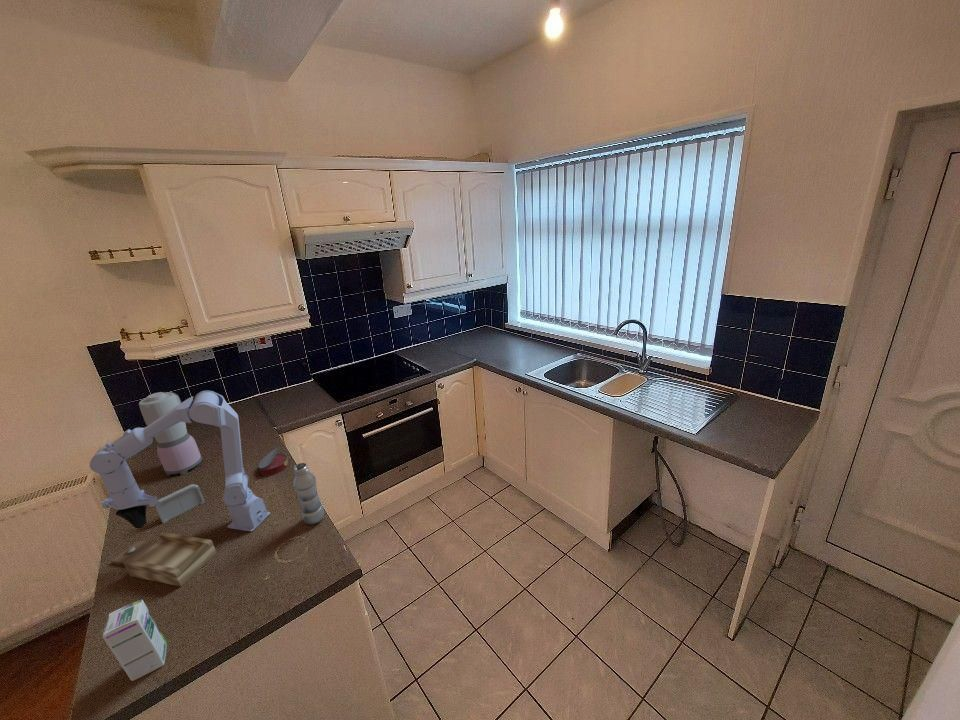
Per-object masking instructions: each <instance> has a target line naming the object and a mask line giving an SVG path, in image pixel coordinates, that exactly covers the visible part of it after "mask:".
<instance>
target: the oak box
mask: <svg viewBox="0 0 960 720" xmlns="http://www.w3.org/2000/svg"><path fill="white" fill-rule="evenodd" d="M158 536H159V538H160V540H159V541H158V542H157V544H155V545H154V546H153V547H152V548H150V549H149V550H148V551H147V552H145V553H144V554H143V555H142V556H140V557H139V558H138V559H137V560H135V561H134V560H129V559H128V560H127V561H125V562H124V565H123V566H125V567H124V568H125V569H126V570H127V573H128V575H129V577H132V578H134V577H135V578H139V579H143V580H148V581H152V582H156V583H157V582H158V583H162V584H167V585H171V586H177V587H183V586H184V585H185V583H187V582H188V581H189V580H190V579H191V578H192V577H193V576H194V575H195V574H196V573H197V572H198V571H199V570H201V568H203V566H205V565H206V564H207V563H208V562H209V561H210V560H211V559H212V558H213V557H214V556H215V555H216V554H217V553H218V552H217V550H216V547H215V546H214V545H215V544H214V543H213V540H212V539H208V538H201V537H196V536H189V535H184V534H178V533H171V532H166V531H163V532H161V533H160V534H159V535H158Z"/></svg>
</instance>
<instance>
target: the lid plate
mask: <svg viewBox="0 0 960 720" xmlns="http://www.w3.org/2000/svg"><path fill="white" fill-rule="evenodd" d="M157 543H158V542H157ZM157 543H156V542H151V541H149V542H148V541H143V540H137V541H136V542H134V543H133V544H131V545H130V546H128V548H126V549H124V551H123V552H121V553H119V554H118V555H117V556H115V558H113V559H112V560H111V562H112V564H114V563H115V565H120V566H125V565H124V562H125V561H127V560H128V559H129V560H134V561H135V560H137V559H138V558H139V557H140V556H142V555H143V554H144V553H145V552H147V551H148V550H149V549H150V548H152V547H153V546H154V545H155V544H157Z"/></svg>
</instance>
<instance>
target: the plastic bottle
mask: <svg viewBox="0 0 960 720" xmlns="http://www.w3.org/2000/svg"><path fill="white" fill-rule="evenodd" d="M293 473H294V475H295V476H294V478H293V481H292V486H293V489H294V491H295V493H296V495H297V498H298V500H299V503H300V508H301V519H302V520H303V522H304V523H305V524H307V525H315V524H317V523H320V521H322V520H323V518H324V516H325V508H324V506H323V504H322V502H321V499H320V497H319V493H318V489H317V479H316V476H315V474H314V473H312V472H311V471H309V467H308V465H307V463H305V462H299V463H297V464H295V465H294V466H293Z"/></svg>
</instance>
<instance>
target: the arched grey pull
mask: <svg viewBox="0 0 960 720" xmlns="http://www.w3.org/2000/svg"><path fill="white" fill-rule="evenodd" d="M200 488H201V487H200V486H199V485H198V484H194V483H190V484H189V485H187V486H185V487H182V488H181V489H179V490H176V491H172V493H170V494H168V495H166V496H164V497H161V498H159V499H158V501H159V502H158V503H157V504H156V505H154V508H155V510H156V512H157V514H158V516H159V519H160V520H161V521H160V522H161V523H162V524H166V523H167V522H169V520H171V519H173V518H175V517H177V516H179V515H181V514H183V513H185V512H186V511H189V510H191V509H193V508H195V507H196V506H198V505H203V504H204V503H205V502H206V501H205V498H204V496H203V493H202V491H201V489H200Z"/></svg>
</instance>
